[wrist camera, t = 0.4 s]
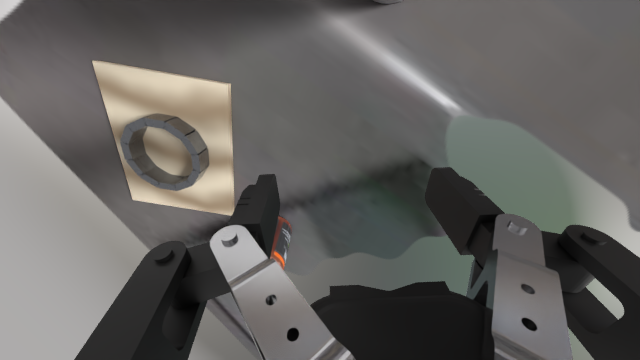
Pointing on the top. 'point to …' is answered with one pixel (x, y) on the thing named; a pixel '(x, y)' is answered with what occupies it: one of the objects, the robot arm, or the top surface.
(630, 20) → the top surface
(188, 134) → the metal collar
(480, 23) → the top surface
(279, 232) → the supplement bottle
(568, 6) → the top surface
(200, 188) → the birch board
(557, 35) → the top surface
